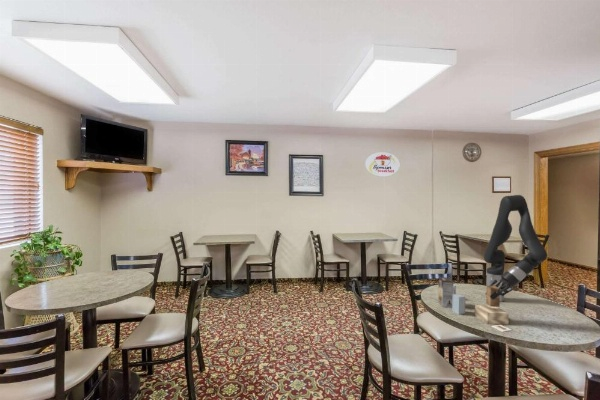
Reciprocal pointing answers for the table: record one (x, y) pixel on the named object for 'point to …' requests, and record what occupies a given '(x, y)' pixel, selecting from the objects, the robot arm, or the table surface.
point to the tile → (501, 328)
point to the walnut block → (489, 300)
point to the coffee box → (445, 292)
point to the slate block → (458, 304)
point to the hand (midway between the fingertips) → (489, 296)
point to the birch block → (491, 314)
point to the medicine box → (454, 289)
